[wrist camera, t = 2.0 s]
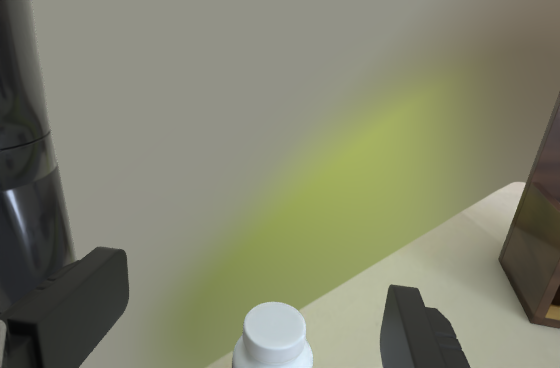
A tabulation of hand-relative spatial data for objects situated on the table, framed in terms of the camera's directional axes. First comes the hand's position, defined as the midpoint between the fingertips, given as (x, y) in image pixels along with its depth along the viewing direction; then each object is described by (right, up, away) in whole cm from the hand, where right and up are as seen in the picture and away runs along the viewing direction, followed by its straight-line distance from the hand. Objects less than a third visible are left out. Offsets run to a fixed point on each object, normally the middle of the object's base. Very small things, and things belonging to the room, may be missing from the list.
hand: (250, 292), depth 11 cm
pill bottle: (0, -15, +17) cm, 22 cm away
